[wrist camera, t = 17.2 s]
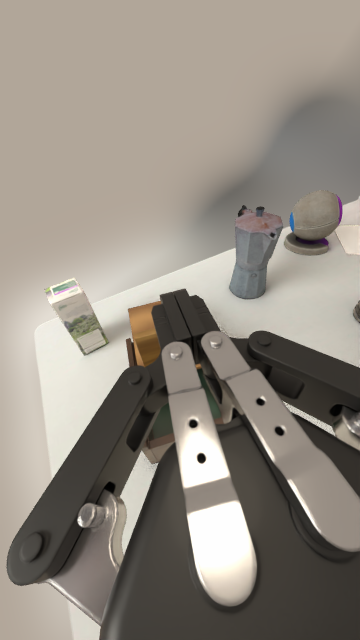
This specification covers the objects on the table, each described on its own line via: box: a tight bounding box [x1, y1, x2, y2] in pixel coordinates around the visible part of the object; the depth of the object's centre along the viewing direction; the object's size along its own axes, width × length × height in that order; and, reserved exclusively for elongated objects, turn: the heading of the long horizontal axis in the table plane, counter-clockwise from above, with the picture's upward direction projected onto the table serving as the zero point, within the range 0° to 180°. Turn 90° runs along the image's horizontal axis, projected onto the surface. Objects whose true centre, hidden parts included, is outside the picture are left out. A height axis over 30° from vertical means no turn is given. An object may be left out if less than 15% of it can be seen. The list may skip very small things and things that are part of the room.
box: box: [126, 338, 224, 464], centre depth 36 cm, size 18×13×7 cm
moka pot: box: [229, 205, 283, 299], centre depth 51 cm, size 10×15×20 cm, turn 18°
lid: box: [128, 301, 202, 369], centre depth 37 cm, size 18×11×10 cm, turn 16°
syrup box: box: [45, 278, 109, 355], centre depth 44 cm, size 6×6×14 cm
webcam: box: [284, 190, 342, 255], centre depth 65 cm, size 13×13×15 cm
